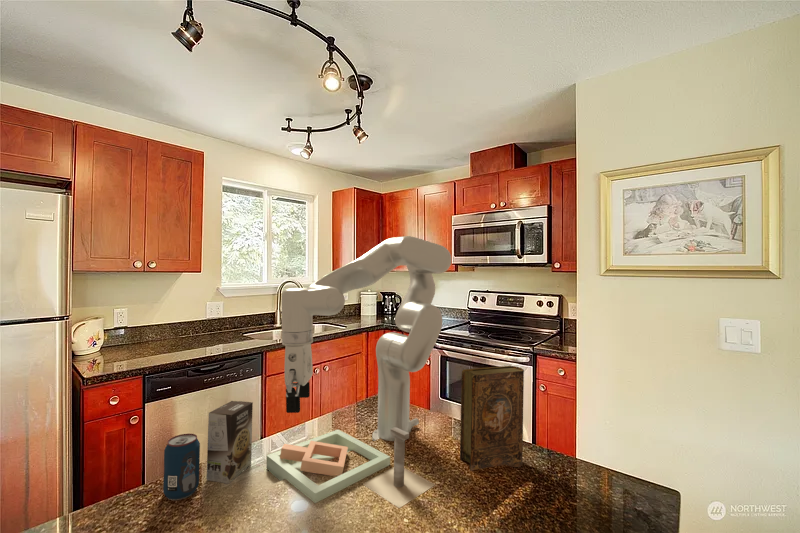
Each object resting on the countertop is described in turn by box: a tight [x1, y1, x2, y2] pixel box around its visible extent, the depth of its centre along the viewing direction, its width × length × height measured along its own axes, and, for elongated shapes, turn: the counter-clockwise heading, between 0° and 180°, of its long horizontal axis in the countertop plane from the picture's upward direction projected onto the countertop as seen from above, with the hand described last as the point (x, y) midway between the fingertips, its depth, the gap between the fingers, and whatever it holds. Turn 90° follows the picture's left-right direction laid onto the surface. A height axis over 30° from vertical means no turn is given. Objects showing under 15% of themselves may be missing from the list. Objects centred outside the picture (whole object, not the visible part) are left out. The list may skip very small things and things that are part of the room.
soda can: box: [162, 433, 201, 501], centre depth 83 cm, size 7×7×12 cm
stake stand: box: [362, 427, 436, 509], centre depth 85 cm, size 12×12×14 cm
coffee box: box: [206, 400, 254, 484], centre depth 92 cm, size 9×6×16 cm
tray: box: [265, 429, 391, 504], centre depth 93 cm, size 22×22×4 cm
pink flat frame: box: [280, 441, 348, 477], centre depth 93 cm, size 16×10×2 cm, turn 92°
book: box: [459, 365, 525, 471], centre depth 97 cm, size 16×6×25 cm, turn 109°
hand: (298, 404), depth 94 cm, fingers open, 9 cm apart
